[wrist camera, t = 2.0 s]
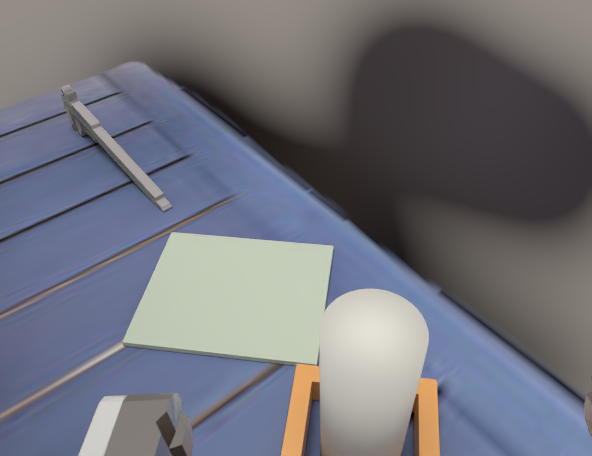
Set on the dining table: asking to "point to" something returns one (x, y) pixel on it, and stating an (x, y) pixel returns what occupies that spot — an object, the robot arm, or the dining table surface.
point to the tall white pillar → (369, 372)
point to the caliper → (110, 146)
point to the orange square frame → (309, 389)
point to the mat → (235, 299)
